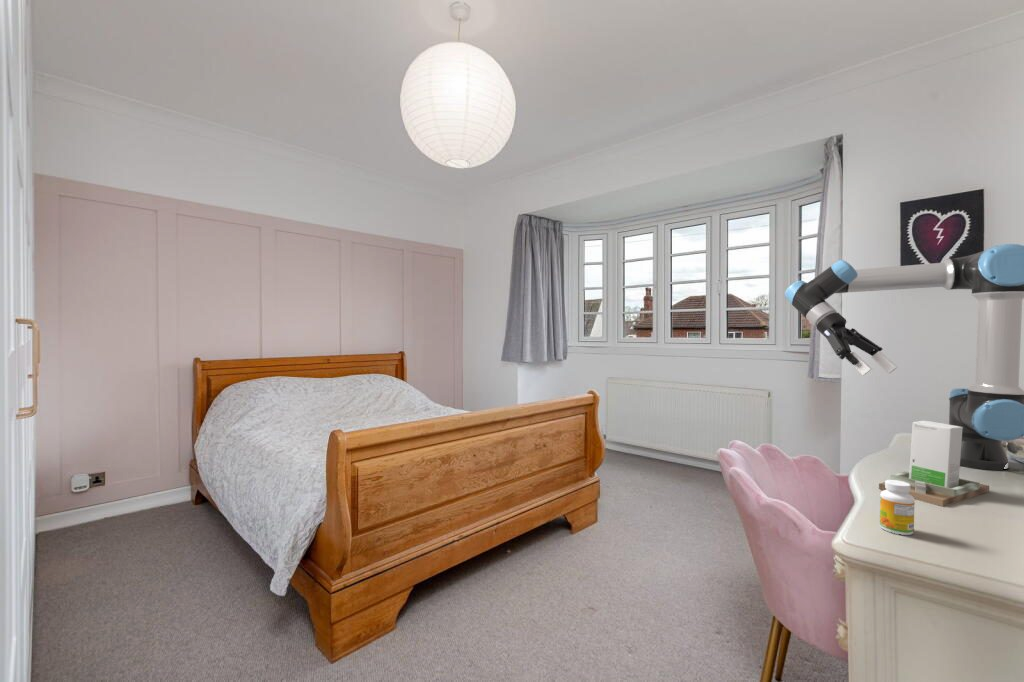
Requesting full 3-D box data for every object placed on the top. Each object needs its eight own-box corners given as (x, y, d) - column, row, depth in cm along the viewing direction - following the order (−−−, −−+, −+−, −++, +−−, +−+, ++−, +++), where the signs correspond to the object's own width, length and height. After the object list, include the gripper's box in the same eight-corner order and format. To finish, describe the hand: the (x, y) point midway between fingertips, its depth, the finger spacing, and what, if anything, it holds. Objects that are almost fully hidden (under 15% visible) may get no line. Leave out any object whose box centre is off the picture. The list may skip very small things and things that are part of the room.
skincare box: (907, 481, 124) (909, 421, 123) (920, 478, 127) (922, 419, 126) (949, 491, 116) (950, 427, 116) (961, 487, 119) (963, 425, 119)
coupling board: (926, 477, 132) (926, 465, 132) (989, 491, 121) (989, 478, 121) (878, 489, 122) (879, 476, 122) (942, 506, 110) (943, 492, 110)
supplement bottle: (875, 523, 100) (876, 477, 100) (907, 527, 98) (908, 480, 98) (884, 533, 95) (886, 484, 95) (918, 537, 93) (919, 488, 93)
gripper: (840, 328, 157) (892, 377, 144) (793, 328, 146) (845, 381, 133) (858, 312, 153) (914, 361, 139) (811, 310, 141) (866, 363, 128)
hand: (880, 371), depth 136 cm, fingers open, 13 cm apart
